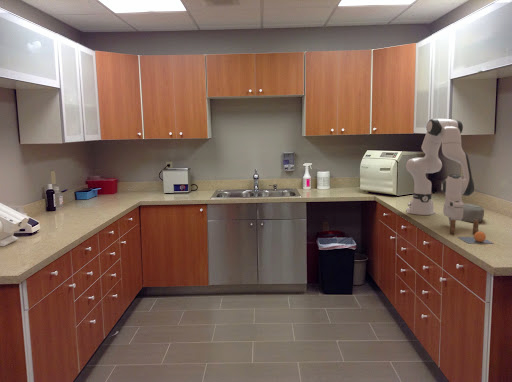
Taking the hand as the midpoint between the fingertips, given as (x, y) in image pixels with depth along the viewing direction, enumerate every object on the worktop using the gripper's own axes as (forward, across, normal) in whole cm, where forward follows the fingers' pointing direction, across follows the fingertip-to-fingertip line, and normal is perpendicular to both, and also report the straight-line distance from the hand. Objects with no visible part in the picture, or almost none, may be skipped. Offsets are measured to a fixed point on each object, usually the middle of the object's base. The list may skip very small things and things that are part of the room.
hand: (451, 224), depth 262 cm
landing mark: (+2, +31, 0) cm, 31 cm away
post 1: (+2, +17, -6) cm, 18 cm away
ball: (-1, +34, +1) cm, 34 cm away
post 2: (+2, +17, +6) cm, 18 cm away
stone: (+2, -26, +21) cm, 33 cm away
